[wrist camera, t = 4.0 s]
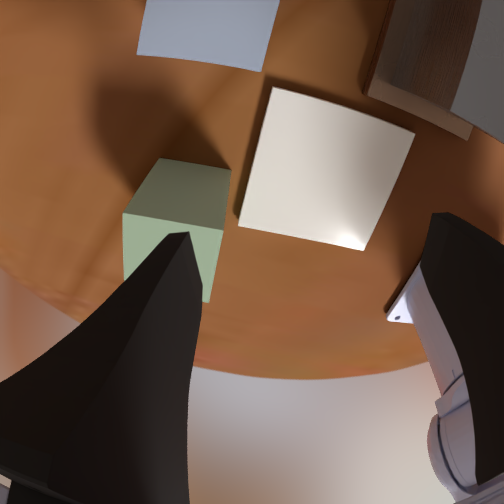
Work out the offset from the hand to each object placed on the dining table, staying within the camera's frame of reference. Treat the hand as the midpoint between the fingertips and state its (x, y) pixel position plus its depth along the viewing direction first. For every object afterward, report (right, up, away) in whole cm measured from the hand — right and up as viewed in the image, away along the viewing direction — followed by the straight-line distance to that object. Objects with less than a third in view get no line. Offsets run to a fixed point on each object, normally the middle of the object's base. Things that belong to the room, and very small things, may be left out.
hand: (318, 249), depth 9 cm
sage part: (-5, +3, +9) cm, 11 cm away
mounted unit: (+9, +12, +2) cm, 15 cm away
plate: (+2, +4, +8) cm, 9 cm away
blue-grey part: (-3, +11, +3) cm, 12 cm away
